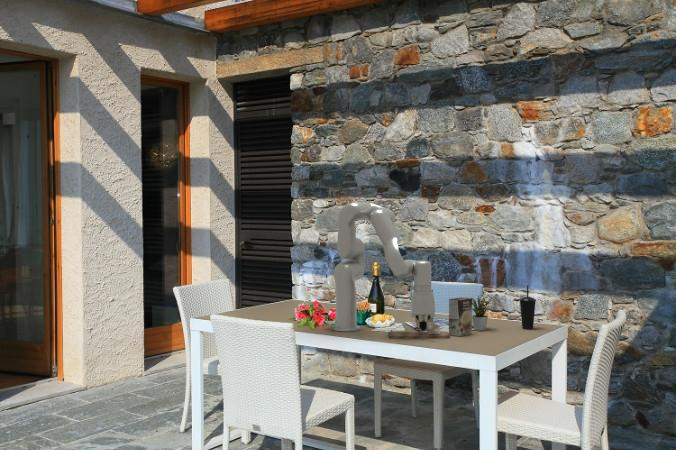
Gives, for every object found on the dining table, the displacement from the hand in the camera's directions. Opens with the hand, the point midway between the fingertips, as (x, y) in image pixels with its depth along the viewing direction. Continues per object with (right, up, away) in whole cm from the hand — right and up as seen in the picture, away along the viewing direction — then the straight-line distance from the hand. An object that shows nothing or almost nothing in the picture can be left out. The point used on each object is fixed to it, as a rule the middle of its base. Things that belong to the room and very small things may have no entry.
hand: (423, 330), depth 324 cm
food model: (+2, -2, +18) cm, 18 cm away
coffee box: (+17, -3, +4) cm, 18 cm away
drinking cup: (+50, -2, +16) cm, 53 cm away
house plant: (+28, -2, +14) cm, 32 cm away
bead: (+5, -1, 0) cm, 5 cm away
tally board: (-2, -3, 0) cm, 3 cm away
